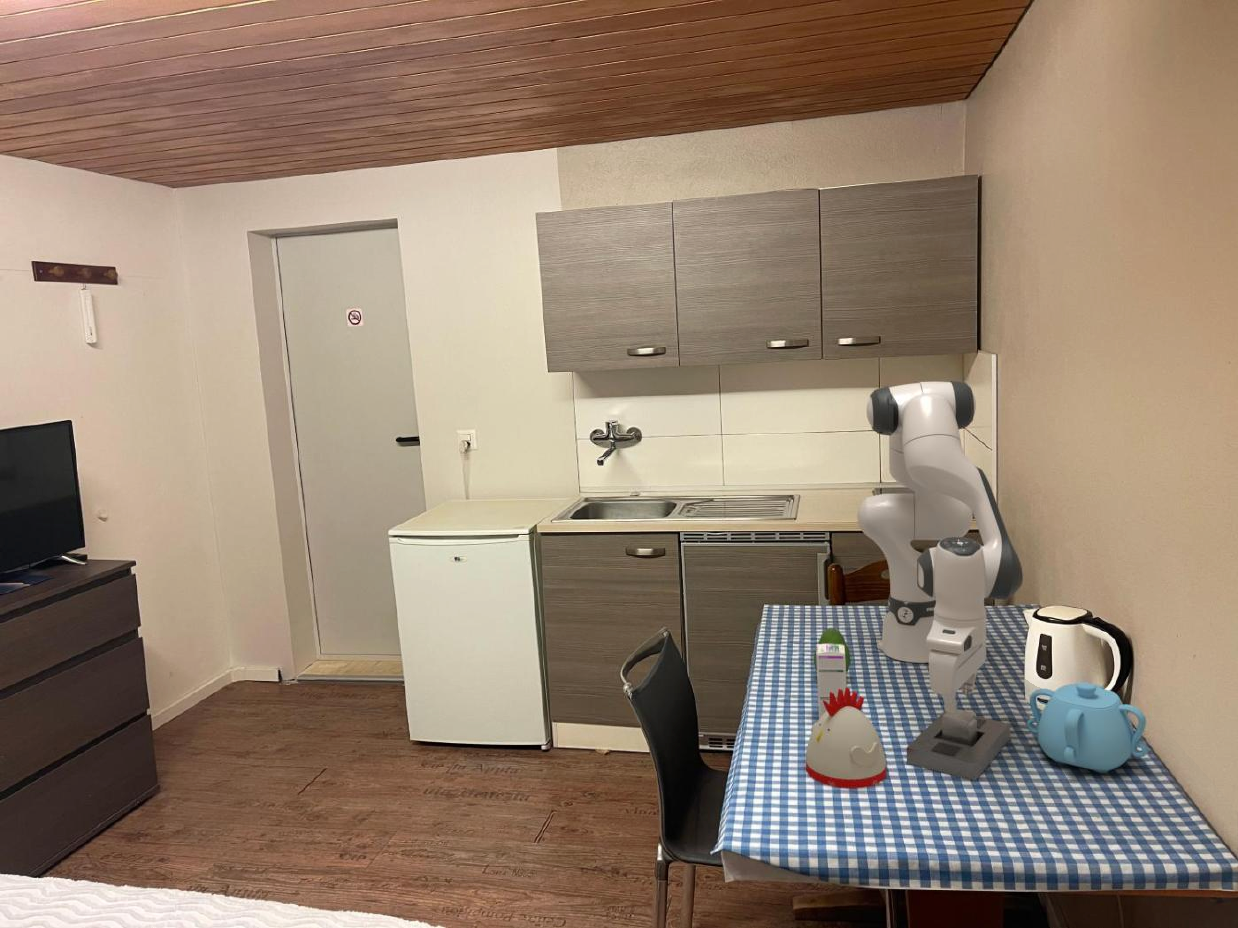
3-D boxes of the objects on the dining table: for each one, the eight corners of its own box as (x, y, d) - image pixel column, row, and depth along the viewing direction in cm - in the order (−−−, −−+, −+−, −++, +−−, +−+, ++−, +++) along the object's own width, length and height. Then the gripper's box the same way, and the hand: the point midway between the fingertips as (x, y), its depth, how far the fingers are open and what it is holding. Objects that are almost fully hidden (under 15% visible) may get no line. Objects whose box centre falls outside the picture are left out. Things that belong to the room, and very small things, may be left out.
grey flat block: (945, 724, 177) (945, 709, 177) (1009, 738, 170) (1009, 722, 169) (906, 763, 162) (906, 746, 161) (975, 780, 154) (975, 763, 154)
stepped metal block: (949, 743, 169) (949, 707, 168) (978, 749, 166) (978, 713, 165) (940, 751, 166) (940, 715, 165) (970, 759, 162) (970, 721, 161)
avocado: (836, 688, 198) (835, 635, 197) (807, 680, 204) (806, 628, 203) (857, 679, 203) (857, 627, 202) (828, 670, 209) (827, 620, 208)
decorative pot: (1156, 779, 152) (1159, 701, 150) (1058, 780, 153) (1060, 703, 151) (1109, 738, 168) (1111, 667, 167) (1020, 739, 169) (1022, 669, 167)
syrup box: (848, 723, 180) (847, 652, 178) (817, 721, 181) (816, 651, 179) (846, 711, 186) (845, 643, 184) (817, 710, 187) (816, 642, 185)
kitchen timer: (790, 762, 164) (788, 683, 162) (852, 746, 169) (851, 669, 168) (837, 795, 151) (836, 709, 150) (903, 777, 157) (902, 694, 155)
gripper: (960, 610, 173) (960, 679, 175) (922, 642, 157) (922, 717, 159) (995, 615, 169) (994, 686, 171) (959, 648, 153) (958, 725, 155)
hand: (959, 701), depth 165 cm, fingers open, 8 cm apart
